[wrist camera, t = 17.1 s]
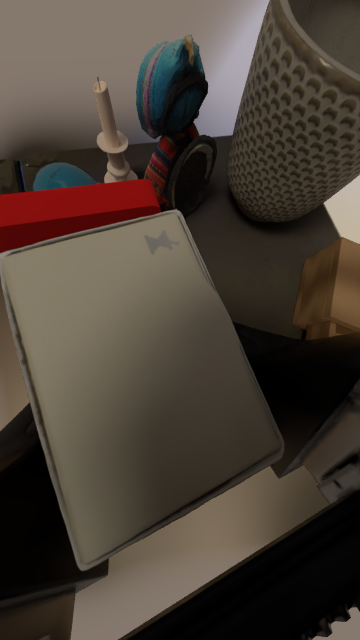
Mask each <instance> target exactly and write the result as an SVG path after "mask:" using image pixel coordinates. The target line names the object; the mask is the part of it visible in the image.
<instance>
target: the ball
mask: <svg viewBox="0 0 360 640" xmlns="http://www.w3.org/2000/svg"><path fill="white" fill-rule="evenodd" d="M94 184H99V183H98V182H97V181H96V180H95V179H94V178H93V177H91V176H90V175H89V174H88V173H87V172H86V171H85V170H83V169H81V168H79V167H77V166H74V165H72V164H69V163H62V162H55V163H50V164H47V165H46V166H44V167H42V168H41V169H40V171H39V172H38V173H37V175H36V176H35V178H34V183H33V191H40V190H49V189H58V188H67V187H76V186H85V185H94Z"/></svg>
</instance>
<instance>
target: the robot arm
mask: <svg viewBox="0 0 360 640" xmlns="http://www.w3.org/2000/svg"><path fill="white" fill-rule="evenodd" d="M232 323H233V325H234V328H235V331H236V333H237V335H238V338H239V340H240V343H241V345H242V347H243V350H244V353H245V355H246V357H247V359H248V361H249V364H250V366H251V368H252V370H253V373H254V375H255V377H256V379H257V382H258V384H259V386H260V388H261V390H262V393H263V395H264V397H265V399H266V402H267V404H268V406H269V409H270V411H271V413H272V415H273V418H274V420H275V422H276V425H277V427H278V429H279V431H280V433H281V435H282V438H283V440H284V453H283V456H282V458H281V459H280V460H278V461H276V462H275V463H273V464H271V465H270V466H271V468H272V469H273V471H274V472H275V474H276V475H277V477H278V478H281V477H283V476H285V475H287V474H288V473H290V472H292V471H294V470H295V469H297V468H299V467H301V466H303V465H304V466H305V467H306V468H307V470H308V471H309V472H310V474H311V475H312V476H313V478H314V479H315V480H316V482H317V483H318V485H317V487H318V489H319V490H320V492H321V493H322V494H323V496H324V497H325V499H326V500H327V501H328V503H329V504H330V505H329V506H327V507H325V508H324V509H322V510H321V511H319V512H318V513H316V514H315V515H313V516H311V517H310V518H308V519H307V520H305V521H304V522H302V523H300V524H299V525H297V526H296V527H294V528H293V529H291V530H290V531H288V532H286V533H285V534H283V535H282V536H280V537H278V538H277V539H275V540H274V541H272V542H271V543H269V544H267V545H266V546H264V547H263V548H261V549H260V550H258V551H256V552H255V553H253V554H252V555H250V556H249V557H247V558H246V559H244V560H242V561H241V562H239V563H238V564H236V565H235V566H233V567H231V568H230V569H228V570H227V571H225V572H224V573H222V574H220V575H219V576H217V577H216V578H214V579H213V580H211V581H209V582H208V583H206V584H205V585H203V586H201V587H200V588H198V589H197V590H195V591H194V592H192V593H190V594H189V595H188V596H186V597H184V598H183V599H181V600H180V601H178V602H176V603H175V604H173V605H172V606H170V607H169V608H167V609H165V610H164V611H162V612H161V613H159V614H158V615H156V616H154V617H153V618H151V619H150V620H148V621H147V622H145V623H143V624H142V625H140V626H139V627H137V628H136V629H134V630H132V631H131V632H129V633H128V634H126V635H125V636H123V637H121V638H120V639H118V640H312V639H313V638H314V637H315V636H322V637H328V636H329V635H330V634H331V633H332V629H331V623H333V622H334V621H341V622H346V621H348V620H349V619H350V618H351V617H350V614H349V611H348V610H349V609H350V608H352V607H357V608H358V610H359V611H360V332H356V333H350V334H344V335H338V336H332V337H326V338H320V339H314V340H299V339H293V338H289V337H285V336H281V335H277V334H273V333H269V332H265V331H261V330H258V329H254V328H250V327H247V326H244V325H241V324H238V323H235V322H232ZM108 564H109V558H108V559H106V560H105V561H103V562H101V563H100V564H98V565H96V566H94V567H92V568H90V569H88V570H86V571H81V570H80V569H79V567H78V566H77V563H76V560H75V556H74V552H73V549H72V545H71V542H70V539H69V535H68V532H67V528H66V525H65V522H64V519H63V516H62V513H61V510H60V507H59V503H58V498H57V495H56V492H55V489H54V486H53V483H52V480H51V477H50V473H49V470H48V466H47V463H46V458H45V454H44V451H43V448H42V446H41V441H40V438H39V434H38V430H37V426H36V423H35V419H34V415H33V412H32V408H31V404H30V403H29V404H28V405H27V406H26V407H25V408H24V409H23V410H22V411H21V412H20V413H19V414H18V415H17V416H16V417H15V418H14V419H13V420H12V421H11V422H10V423H8V424H7V425H6V427H4V428H3V429H2V430H1V431H0V640H70V638H71V630H72V621H73V611H74V602H75V593H77V592H79V591H81V590H82V589H84V588H86V587H88V586H89V585H91V584H93V583H95V582H97V581H98V580H100V579H102V578H104V577H106V576H107V575H108Z"/></svg>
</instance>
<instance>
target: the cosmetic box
mask: <svg viewBox="0 0 360 640" xmlns="http://www.w3.org/2000/svg"><path fill="white" fill-rule="evenodd" d="M0 275H1V286H2V289H3V293H4V298H5V303H6V310H7V313H8V316H9V322H10V327H11V330H12V334H13V341H14V344H15V347H16V351H17V355H18V360H19V364H20V367H21V370H22V373H23V377H24V382H25V386H26V390H27V393H28V397H29V401H30V404H31V408H32V412H33V415H34V419H35V423H36V426H37V430H38V434H39V438H40V441H41V446H42V448H43V451H44V454H45V458H46V463H47V466H48V470H49V473H50V477H51V480H52V483H53V486H54V489H55V492H56V495H57V498H58V503H59V507H60V510H61V513H62V516H63V519H64V522H65V525H66V528H67V532H68V535H69V539H70V542H71V545H72V549H73V552H74V556H75V560H76V563H77V566H78V567H79V569H80V570H81V571H86V570H88V569H90V568H92V567H94V566H96V565H98V564H100V563H101V562H103V561H105V560H106V559H108V558H110V557H111V556H113V555H115V554H116V553H118V552H119V551H121V550H123V549H124V548H126V547H128V546H130V545H132V544H134V543H135V542H138V541H140V540H141V539H143V538H145V537H147V536H149V535H151V534H152V533H154V532H156V531H157V530H159V529H161V528H163V527H165V526H166V525H168V524H170V523H171V522H173V521H175V520H177V519H179V518H181V517H183V516H185V515H186V514H188V513H190V512H191V511H193V510H195V509H197V508H198V507H200V506H201V505H203V504H204V503H206V502H208V501H209V500H211V499H213V498H215V497H217V496H218V495H220V494H222V493H224V492H226V491H227V490H229V489H231V488H233V487H235V486H236V485H238V484H240V483H241V482H243V481H244V480H246V479H248V478H249V477H251V476H253V475H254V474H256V473H258V472H259V471H261V470H263V469H265V468H266V467H268V466H270V465H271V464H273V463H275V462H276V461H278V460H280V459H281V458H282V456H283V453H284V440H283V438H282V435H281V433H280V431H279V429H278V427H277V425H276V422H275V420H274V418H273V415H272V413H271V411H270V409H269V406H268V404H267V402H266V399H265V397H264V395H263V393H262V390H261V388H260V386H259V384H258V382H257V379H256V377H255V375H254V373H253V370H252V368H251V366H250V364H249V361H248V359H247V357H246V355H245V353H244V350H243V347H242V345H241V343H240V340H239V338H238V335H237V333H236V331H235V328H234V325H233V323H232V321H231V319H230V316H229V314H228V312H227V310H226V308H225V306H224V304H223V302H222V300H221V298H220V297H219V295H218V293H217V291H216V289H215V286H214V284H213V282H212V280H211V277H210V275H209V273H208V270H207V268H206V266H205V264H204V262H203V260H202V257H201V255H200V253H199V251H198V249H197V246H196V244H195V242H194V240H193V237H192V235H191V233H190V231H189V229H188V227H187V225H186V222H185V220H184V217H183V215H182V213H181V212H180V211H178V210H170V211H166V212H162V213H159V214H155V215H152V216H145V217H140V218H136V219H132V220H128V221H123V222H119V223H114V224H110V225H107V226H102V227H98V228H94V229H89V230H85V231H81V232H77V233H73V234H69V235H64V236H60V237H56V238H53V239H49V240H45V241H41V242H38V243H35V244H33V245H29V246H25V247H22V248H18V249H13V250H9V251H6V252H3V253H1V254H0Z"/></svg>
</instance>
